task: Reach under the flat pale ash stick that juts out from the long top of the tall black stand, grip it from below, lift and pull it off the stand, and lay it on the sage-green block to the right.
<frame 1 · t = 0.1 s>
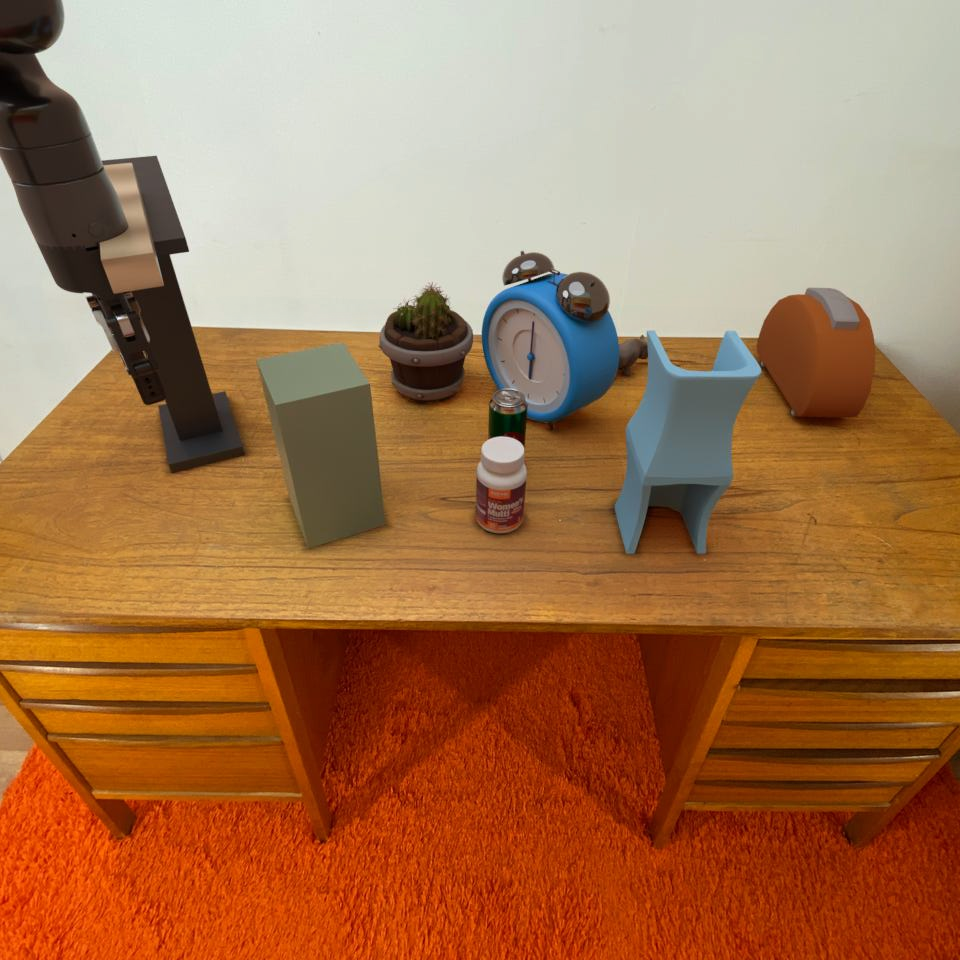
hand: (145, 382, 67), 21 cm above the table, tool pointing down, fingers open, 8 cm apart
ash stick: (129, 234, 64), point 34 cm above the table, touching arm, stand
stand: (201, 433, 96), on the table
blue doll chair: (656, 526, 82), on the table
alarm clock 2: (797, 390, 108), on the table
green block: (336, 511, 83), on the table
alarm clock: (542, 408, 102), on the table
pill bottle: (499, 519, 83), on the table
soda can: (505, 469, 90), on the table
flowerpot: (428, 389, 106), on the table
rhino figurine: (623, 372, 111), on the table
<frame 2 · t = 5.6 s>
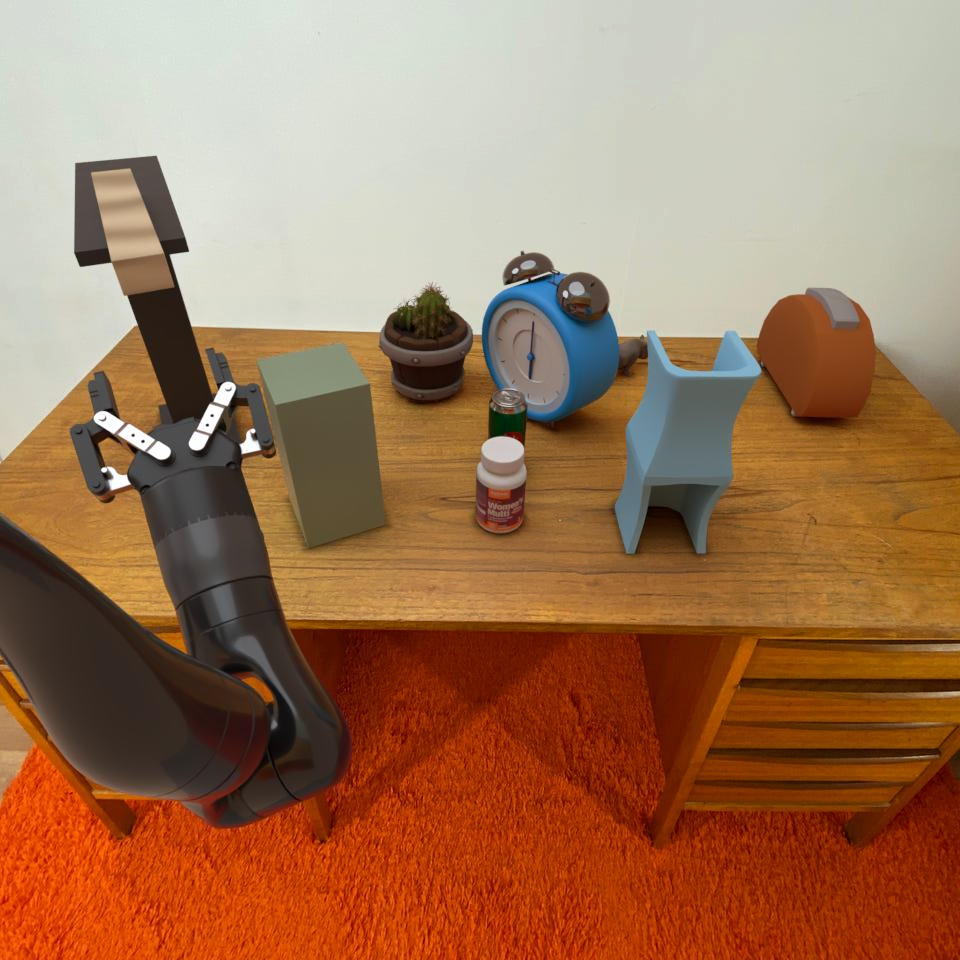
hand: (157, 364, 53), 30 cm above the table, tool pointing upward, fingers open, 8 cm apart
ash stick: (132, 238, 63), point 34 cm above the table, touching stand
everything else where it was.
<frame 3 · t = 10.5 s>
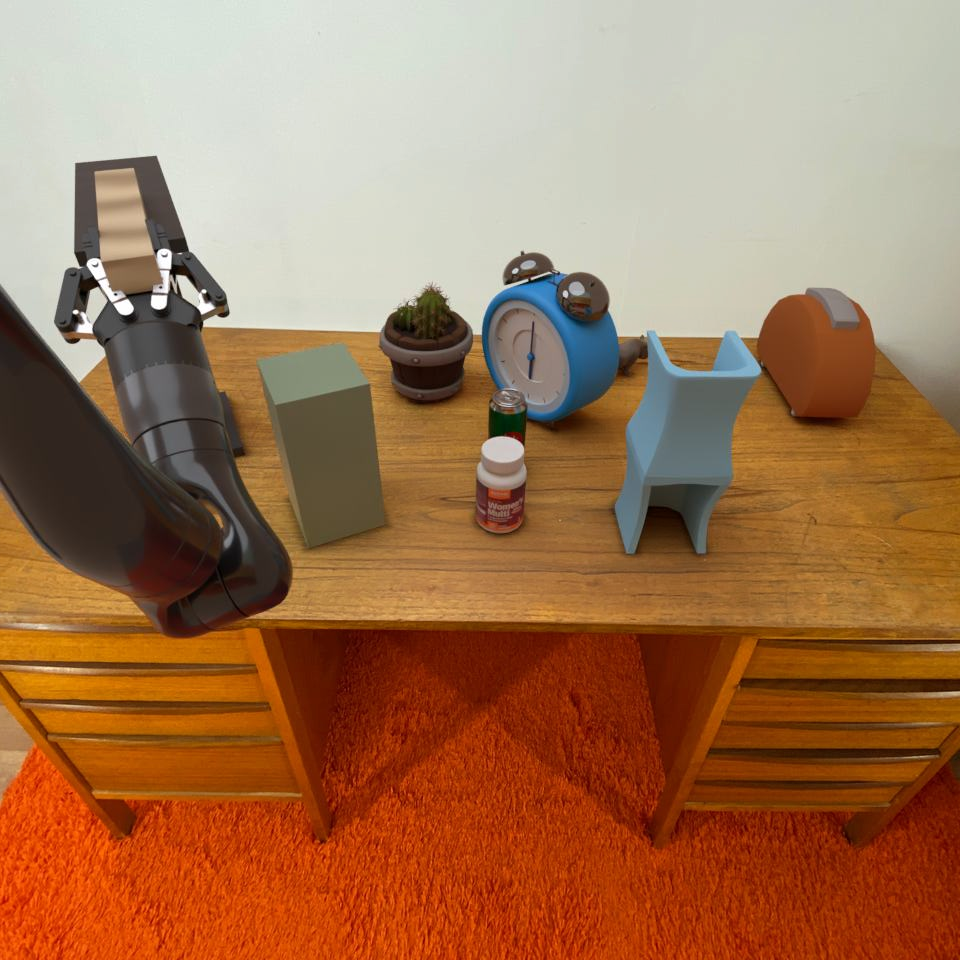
hand: (123, 229, 57), 37 cm above the table, tool pointing upward, fingers closed on ash stick, 4 cm apart
ash stick: (130, 238, 63), point 34 cm above the table, touching gripper, stand
everything else where it was.
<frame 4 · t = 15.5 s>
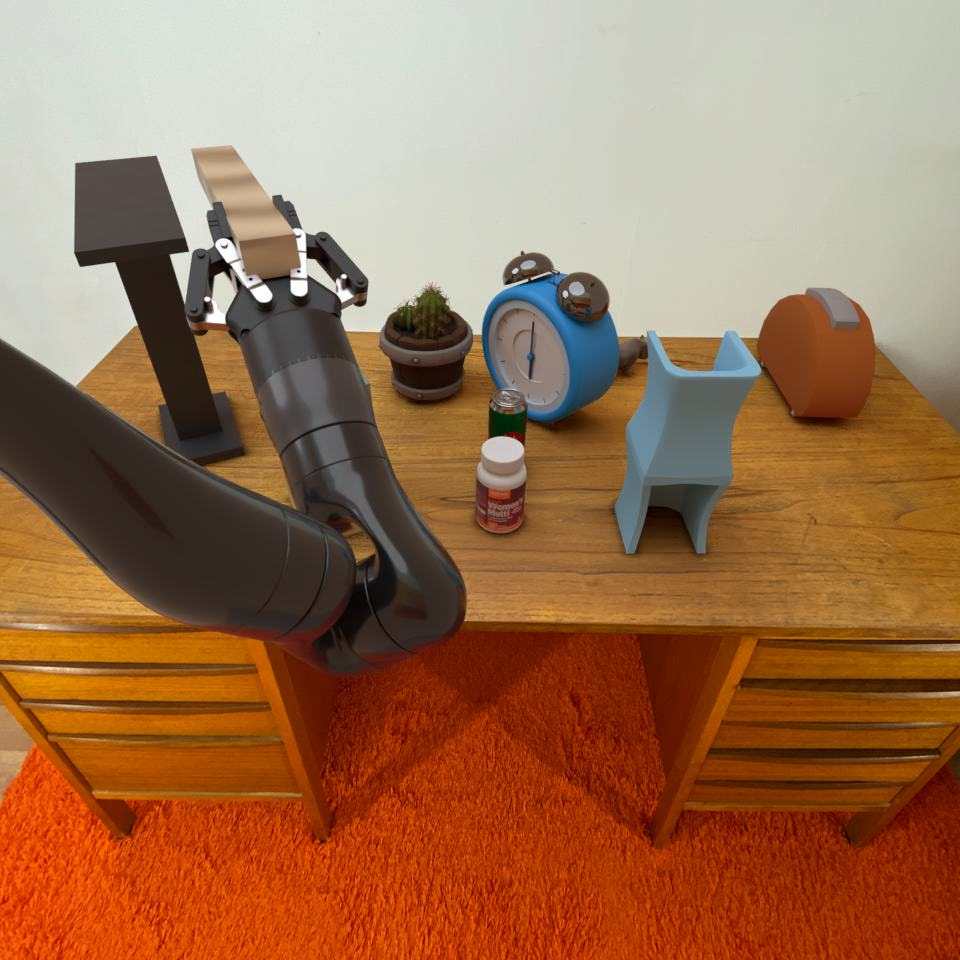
hand: (248, 207, 50), 41 cm above the table, tool pointing upward, fingers closed on ash stick, 4 cm apart
ash stick: (242, 219, 57), point 38 cm above the table, touching gripper
everything else where it was.
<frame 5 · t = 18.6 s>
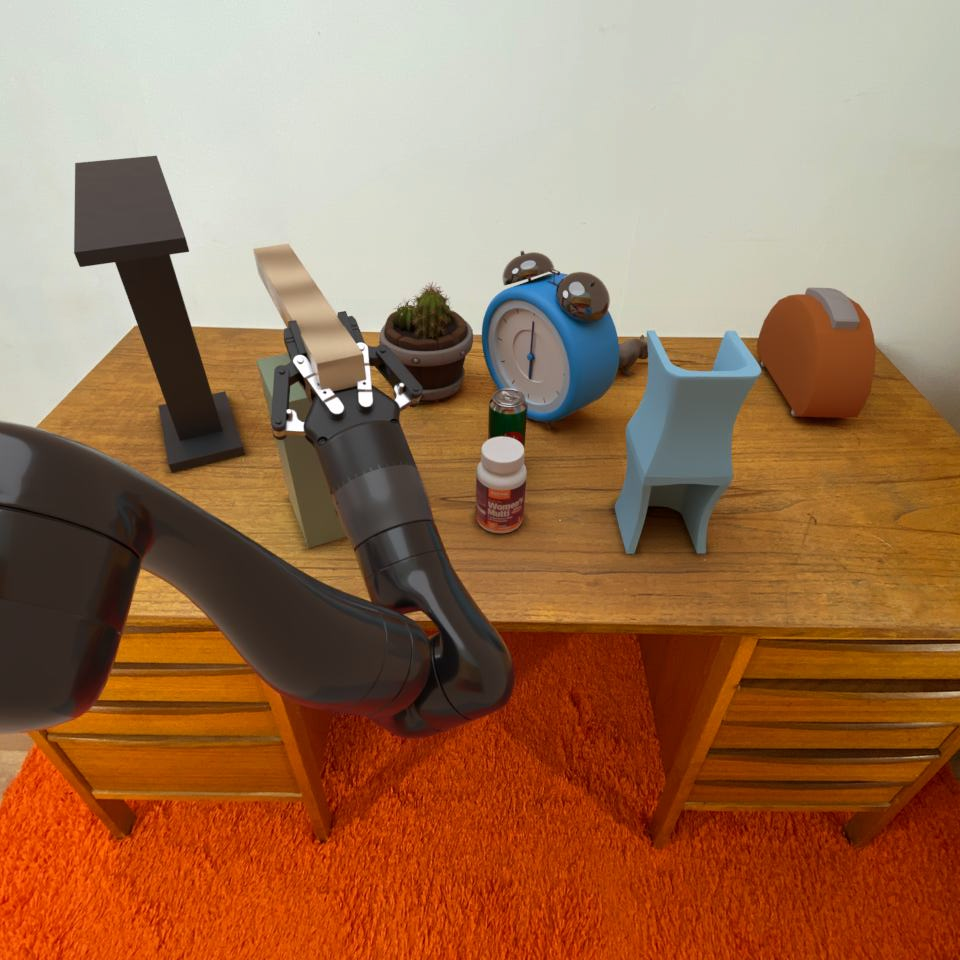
hand: (316, 322, 58), 30 cm above the table, tool pointing upward, fingers closed on ash stick, 4 cm apart
ash stick: (305, 321, 64), point 27 cm above the table, touching gripper
everything else where it was.
when the fingers open (24 cm above the table, at t = 20.7 s): ash stick stays where it is, resting on green block.
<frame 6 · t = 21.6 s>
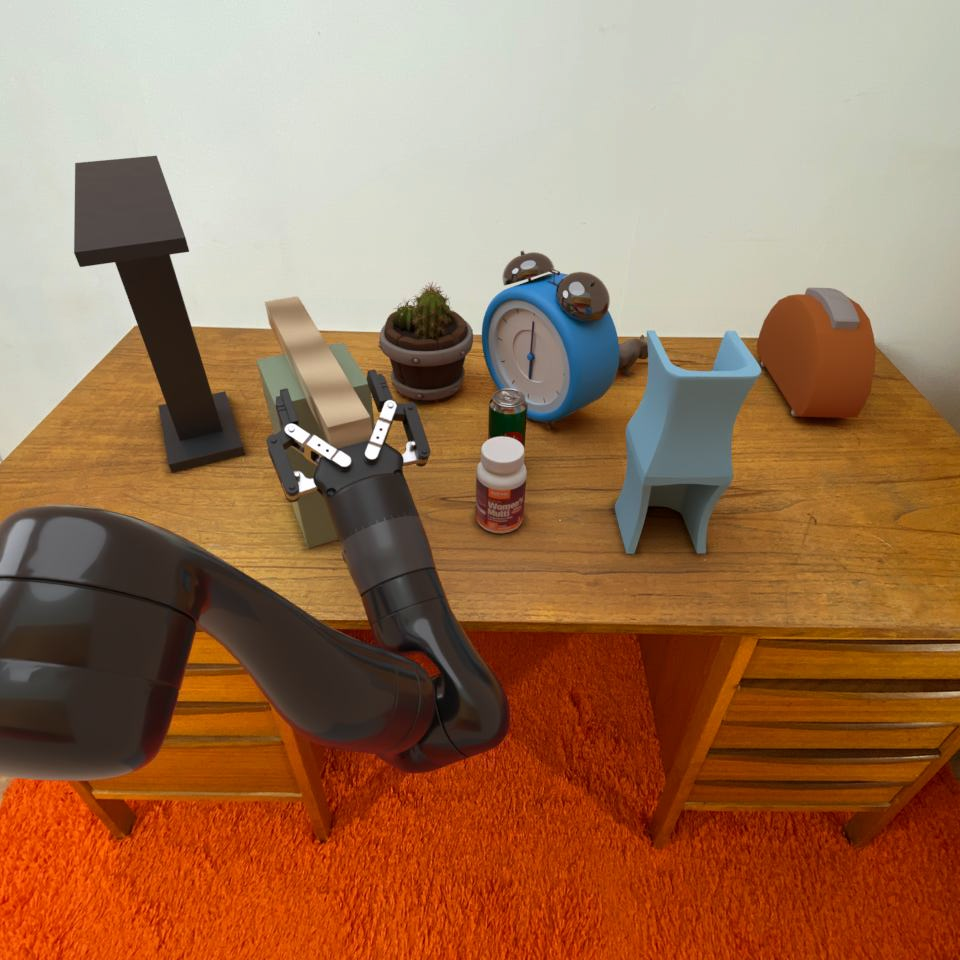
hand: (327, 383, 62), 24 cm above the table, tool pointing upward, fingers open, 8 cm apart
ash stick: (314, 376, 69), point 21 cm above the table, touching green block
everything else where it was.
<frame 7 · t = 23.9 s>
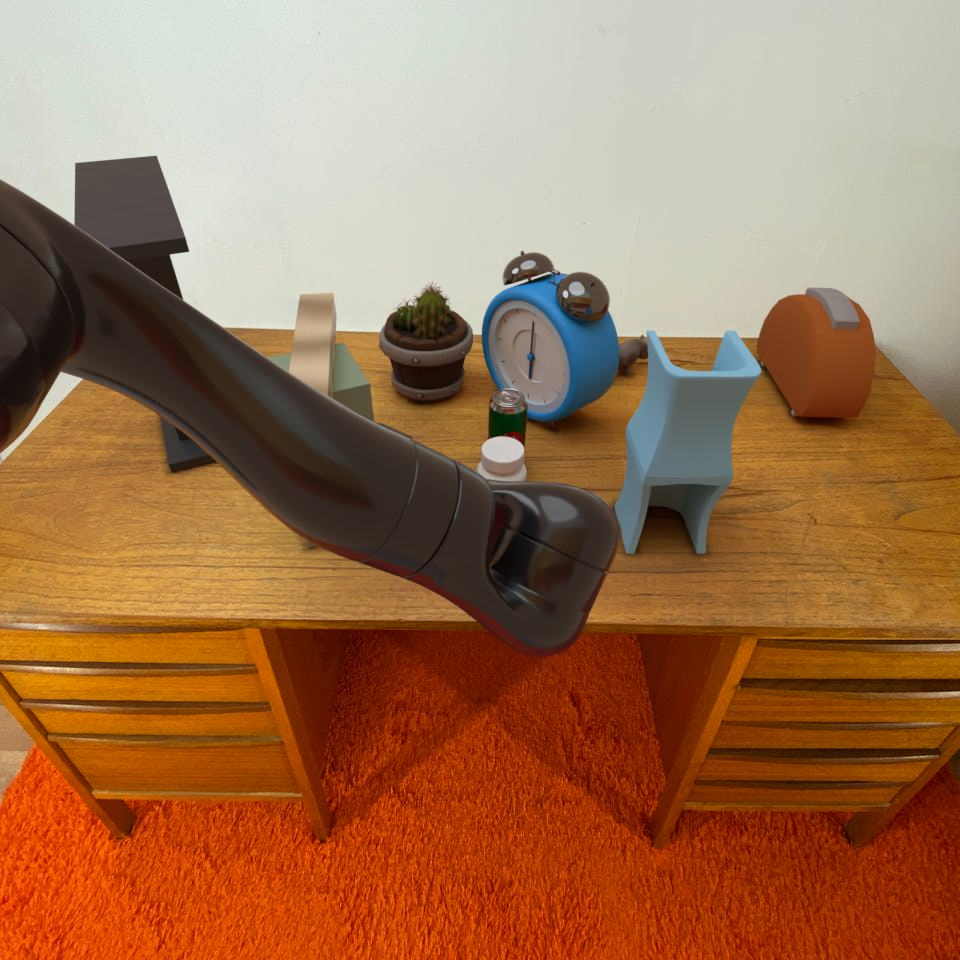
hand: (292, 437, 61), 20 cm above the table, tool horizontal, fingers open, 8 cm apart
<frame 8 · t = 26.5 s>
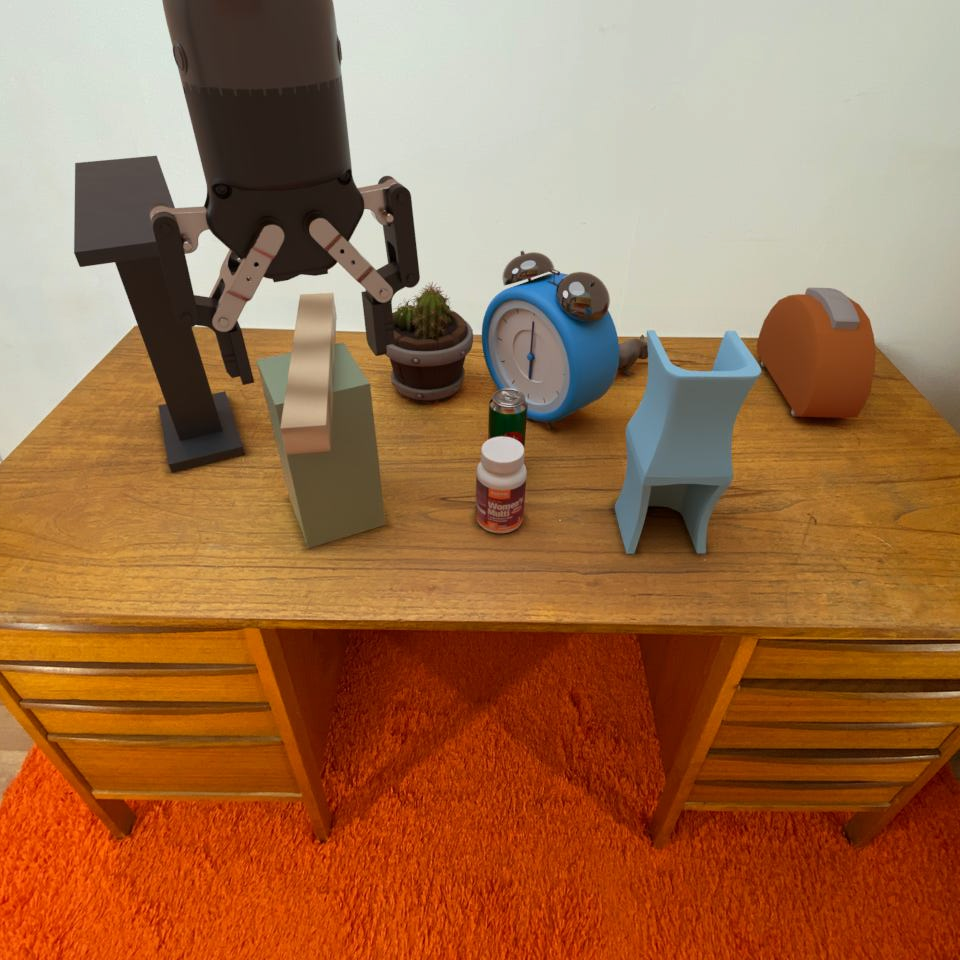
hand: (313, 363, 41), 36 cm above the table, tool pointing down, fingers open, 8 cm apart
nothing on the table moved.
at the end: ash stick inside the target area on the green block (0.9 cm from its centre), point 21.0 cm above the green block's base; ash stick touching green block; ash stick tilted 0° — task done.
